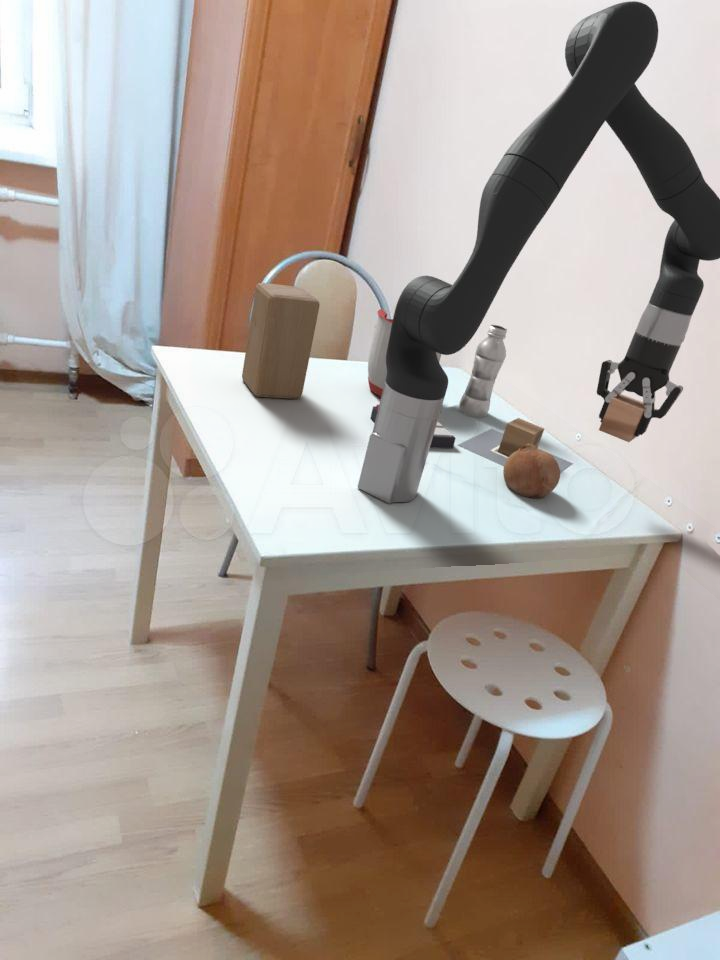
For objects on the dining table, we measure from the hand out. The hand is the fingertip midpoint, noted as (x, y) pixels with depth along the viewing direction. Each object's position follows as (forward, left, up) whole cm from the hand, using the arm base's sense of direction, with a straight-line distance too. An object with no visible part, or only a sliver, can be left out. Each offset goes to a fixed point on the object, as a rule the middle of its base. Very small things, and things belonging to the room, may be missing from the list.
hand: (620, 428), depth 125 cm
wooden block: (-19, +62, -14) cm, 66 cm away
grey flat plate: (0, +16, -13) cm, 21 cm away
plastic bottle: (+13, +32, -14) cm, 37 cm away
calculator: (-10, +34, -14) cm, 38 cm away
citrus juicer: (+7, +49, -14) cm, 51 cm away
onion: (-13, +9, -14) cm, 21 cm away
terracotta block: (0, 0, -1) cm, 1 cm away
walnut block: (0, +16, -12) cm, 20 cm away
